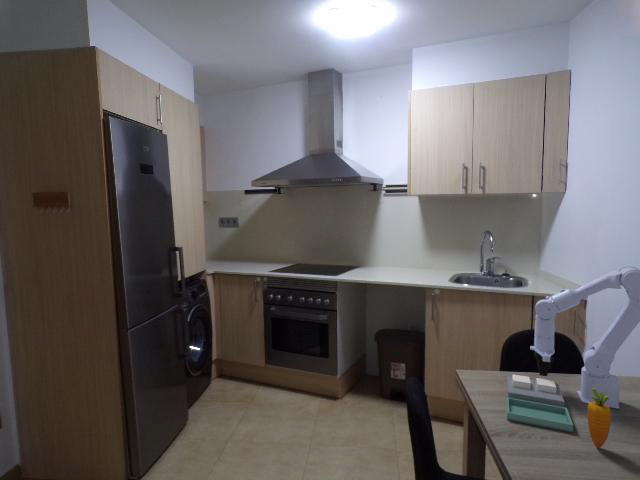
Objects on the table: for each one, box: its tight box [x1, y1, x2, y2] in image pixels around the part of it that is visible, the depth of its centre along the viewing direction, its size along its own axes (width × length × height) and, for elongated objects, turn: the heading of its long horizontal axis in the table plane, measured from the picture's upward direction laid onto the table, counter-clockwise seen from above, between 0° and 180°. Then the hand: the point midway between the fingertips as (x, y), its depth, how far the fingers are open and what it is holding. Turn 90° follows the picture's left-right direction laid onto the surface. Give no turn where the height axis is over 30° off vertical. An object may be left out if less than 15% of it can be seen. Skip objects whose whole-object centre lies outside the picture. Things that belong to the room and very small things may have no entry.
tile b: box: [511, 374, 531, 389], centre depth 122 cm, size 5×5×2 cm
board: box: [506, 375, 565, 407], centre depth 120 cm, size 15×13×4 cm
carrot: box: [587, 388, 612, 449], centre depth 94 cm, size 5×5×15 cm
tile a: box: [535, 377, 556, 393], centre depth 119 cm, size 5×5×2 cm
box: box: [505, 396, 574, 434], centre depth 108 cm, size 16×10×2 cm, turn 65°
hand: (543, 375), depth 125 cm, fingers closed
